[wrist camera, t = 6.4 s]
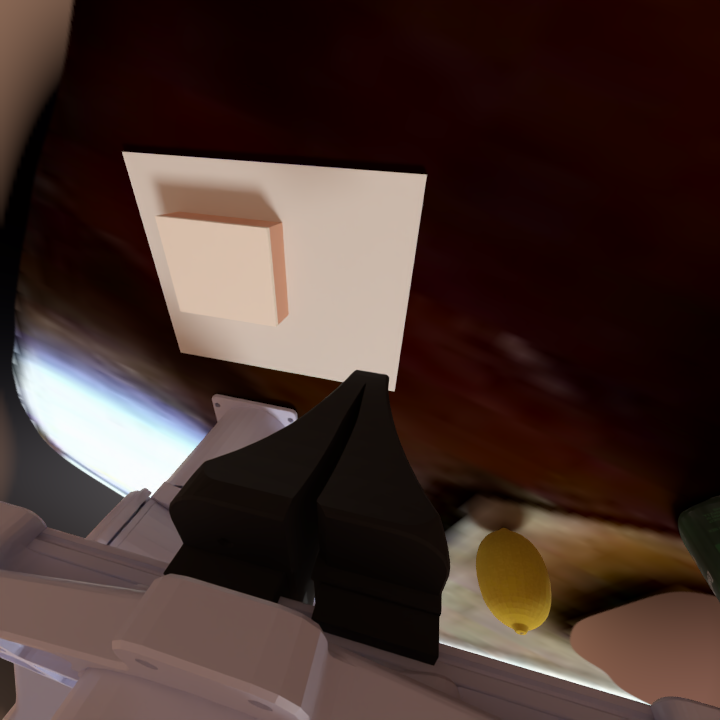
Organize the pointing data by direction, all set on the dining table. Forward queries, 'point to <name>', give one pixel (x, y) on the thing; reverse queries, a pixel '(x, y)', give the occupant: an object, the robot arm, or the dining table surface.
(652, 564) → the dining table surface
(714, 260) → the dining table surface
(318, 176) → the mat
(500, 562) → the lemon
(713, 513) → the coffee jar
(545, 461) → the dining table surface
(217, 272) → the tile
